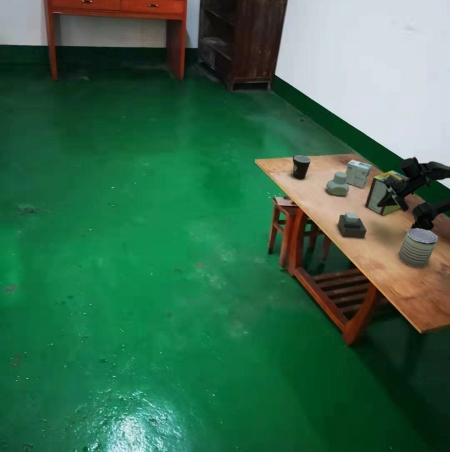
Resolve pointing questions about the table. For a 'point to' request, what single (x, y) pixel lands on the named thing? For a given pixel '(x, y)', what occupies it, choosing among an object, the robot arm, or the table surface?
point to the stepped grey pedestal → (351, 228)
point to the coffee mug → (300, 166)
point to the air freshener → (338, 184)
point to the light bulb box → (357, 173)
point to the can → (417, 247)
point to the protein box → (381, 193)
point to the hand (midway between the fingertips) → (377, 206)
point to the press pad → (351, 217)
